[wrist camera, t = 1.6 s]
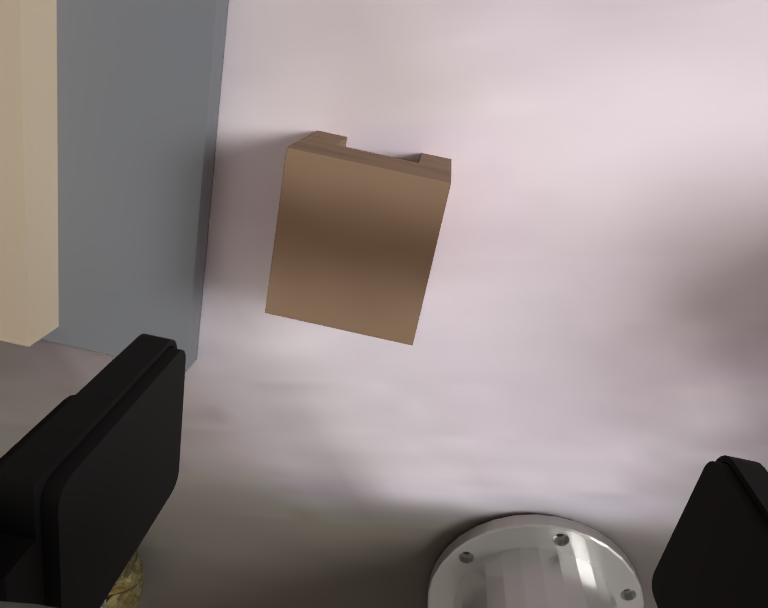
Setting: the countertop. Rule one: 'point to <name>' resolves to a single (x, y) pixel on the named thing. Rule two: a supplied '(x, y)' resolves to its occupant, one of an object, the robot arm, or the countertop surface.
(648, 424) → the countertop surface
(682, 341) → the countertop surface
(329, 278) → the saddle block
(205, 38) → the cleat board
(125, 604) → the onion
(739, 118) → the countertop surface
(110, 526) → the robot arm
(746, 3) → the countertop surface
